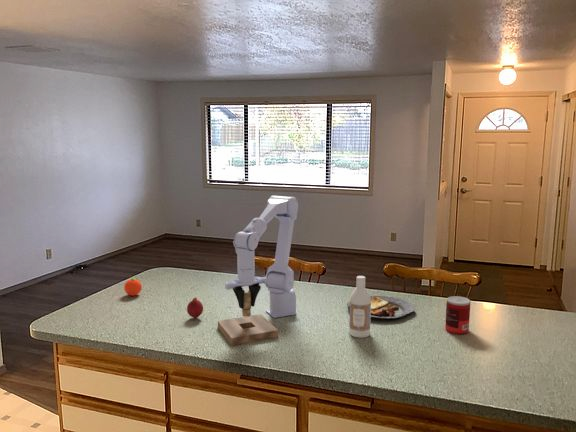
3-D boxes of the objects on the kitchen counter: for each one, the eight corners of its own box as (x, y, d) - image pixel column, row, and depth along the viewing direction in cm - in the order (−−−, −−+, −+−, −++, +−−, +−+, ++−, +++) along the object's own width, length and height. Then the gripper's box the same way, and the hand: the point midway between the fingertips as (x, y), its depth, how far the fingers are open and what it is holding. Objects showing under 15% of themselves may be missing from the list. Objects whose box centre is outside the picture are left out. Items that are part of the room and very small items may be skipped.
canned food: (468, 327, 175) (470, 297, 173) (468, 336, 167) (470, 304, 165) (445, 324, 177) (447, 294, 175) (444, 333, 170) (446, 302, 168)
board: (260, 320, 181) (260, 314, 181) (278, 337, 167) (278, 330, 166) (217, 327, 175) (217, 321, 174) (231, 345, 160) (231, 338, 160)
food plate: (383, 327, 174) (384, 317, 174) (334, 310, 192) (335, 301, 191) (424, 312, 191) (425, 303, 190) (376, 297, 208) (376, 289, 207)
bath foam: (347, 336, 167) (348, 279, 163) (351, 329, 173) (352, 273, 170) (368, 339, 165) (369, 280, 161) (371, 331, 171) (372, 274, 168)
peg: (249, 313, 172) (248, 290, 171) (253, 315, 169) (252, 292, 168) (239, 314, 171) (239, 291, 170) (243, 317, 168) (243, 294, 167)
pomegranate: (199, 322, 180) (199, 300, 179) (184, 320, 181) (184, 299, 180) (205, 316, 186) (205, 295, 185) (191, 315, 187) (190, 294, 186)
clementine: (130, 291, 215) (129, 275, 213) (145, 292, 214) (145, 275, 212) (121, 297, 207) (120, 280, 206) (137, 298, 206) (136, 281, 205)
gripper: (260, 262, 174) (260, 299, 176) (221, 267, 167) (222, 306, 169) (269, 266, 168) (270, 305, 170) (229, 272, 161) (230, 313, 163)
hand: (246, 306), depth 169 cm, fingers closed on peg, 3 cm apart
